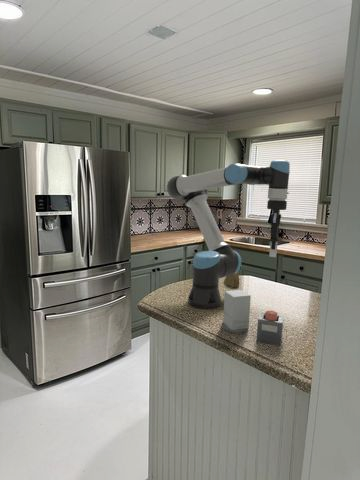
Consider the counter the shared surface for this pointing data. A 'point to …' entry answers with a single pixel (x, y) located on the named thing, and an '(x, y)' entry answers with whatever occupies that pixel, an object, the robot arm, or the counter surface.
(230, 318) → the supplement box
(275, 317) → the button
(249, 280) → the counter surface
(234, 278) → the rock
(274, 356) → the counter surface
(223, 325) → the coaster
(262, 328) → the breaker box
